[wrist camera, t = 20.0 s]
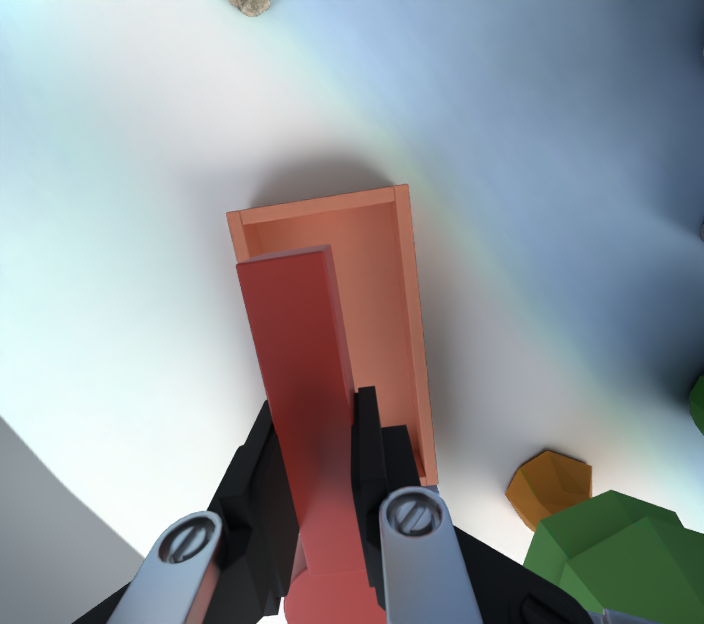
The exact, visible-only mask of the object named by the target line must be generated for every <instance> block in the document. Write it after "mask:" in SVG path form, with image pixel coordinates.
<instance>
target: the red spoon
mask: <svg viewBox="0 0 704 624" xmlns="http://www.w3.org/2000/svg"><path fill="white" fill-rule="evenodd" d="M236 269H237V273H238V278H239V282H240V286H241V290H242V294H243V299H244V303H245V307H246V311H247V315H248V320H249V324H250V328H251V332H252V336H253V341H254V345H255V349H256V353H257V357H258V362H259V366H260V370H261V374H262V378H263V383H264V387H265V391H266V395H267V399H268V404H269V408H270V412H271V416H272V420H273V425H274V429H275V433H276V435H278V439H279V443H280V447H281V452H282V456H283V460H284V464H285V469H286V473H287V477H288V481H289V486H290V490H291V494H292V498H293V503H294V507H295V511H296V515H297V520H298V524H299V528H300V531H299V536H298V542H297V548H296V554H295V559H294V565H293V571H292V576H291V582H290V588H289V593H288V595H287V596H286V597H284V612H285V617H286V620H287V623H288V624H387V619H386V612H385V611H384V610H383V609H382V608H381V607H380V606H379V605H378V602H377V597H376V591H375V587H372V588H370V587H369V582H368V577H367V571H366V566H365V560H364V555H363V549H362V544H361V539H360V533H359V528H358V522H357V517H356V511H355V506H354V501H353V495H352V488H351V476H350V469H351V425H353V424H354V393H355V387H354V381H353V375H352V368H351V362H350V356H349V350H348V344H347V338H346V332H345V326H344V320H343V314H342V308H341V302H340V296H339V290H338V284H337V278H336V272H335V266H334V260H333V254H332V248H331V245H330V244H324V245H317V246H311V247H305V248H298V249H292V250H285V251H279V252H272V253H266V254H261V255H259V256H256V257H253V258H250V259H248V260H245V261H242V262H240V263H238V264H236Z"/></svg>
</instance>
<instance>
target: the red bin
mask: <svg viewBox="0 0 704 624" xmlns="http://www.w3.org/2000/svg"><path fill="white" fill-rule="evenodd" d="M226 217H227V221H228V225H229V229H230V233H231V237H232V242H233V246H234V250H235V254H236V258H237V263H240V262H242V261H245V260H248V259H250V258H253V257H256V256H259V255H261V254H266V253H272V252H279V251H285V250H292V249H298V248H305V247H311V246H317V245H324V244H330V245H331V248H332V254H333V260H334V266H335V272H336V278H337V284H338V290H339V296H340V302H341V308H342V314H343V320H344V326H345V332H346V338H347V344H348V350H349V356H350V362H351V368H352V375H353V381H354V387H355V393H357V392H358V388H360V387H367V386H375V388H376V395H377V402H378V408H379V415H380V422H381V427H389V426H397V425H405V424H406V425H407V429H408V433H409V437H410V441H411V445H412V450H413V454H414V458H415V462H416V466H417V470H418V474H419V478H420V482H421V486H429V485H437V484H438V475H437V465H436V455H435V445H434V435H433V425H432V415H431V405H430V395H429V385H428V375H427V365H426V355H425V345H424V335H423V326H422V316H421V306H420V296H419V286H418V276H417V266H416V256H415V246H414V236H413V226H412V216H411V206H410V196H409V186H408V184H402V185H395V186H389V187H383V188H376V189H370V190H364V191H358V192H351V193H345V194H339V195H332V196H326V197H320V198H313V199H307V200H301V201H295V202H288V203H282V204H276V205H269V206H263V207H257V208H250V209H244V210H240V211H232V212H227V213H226Z"/></svg>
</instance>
